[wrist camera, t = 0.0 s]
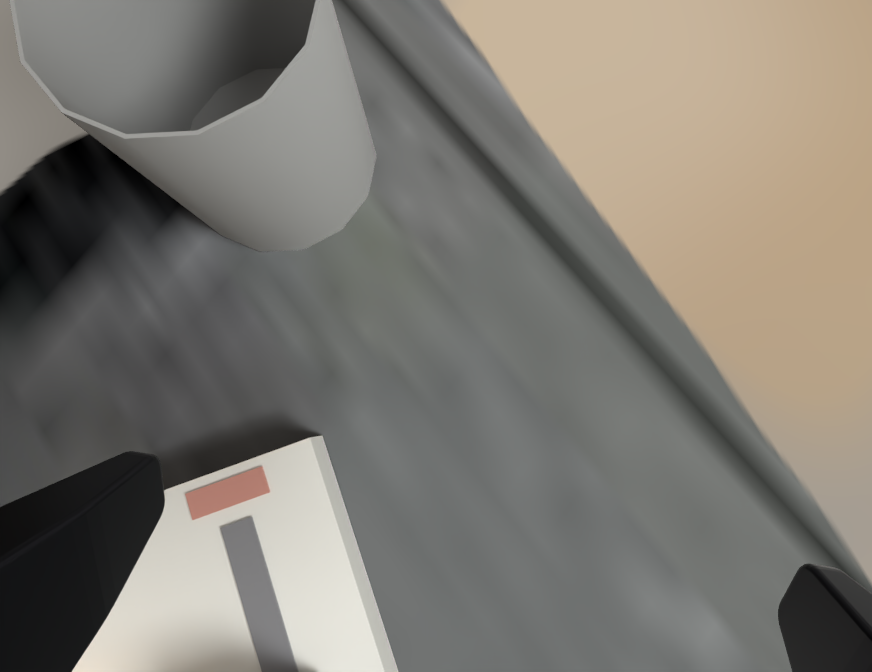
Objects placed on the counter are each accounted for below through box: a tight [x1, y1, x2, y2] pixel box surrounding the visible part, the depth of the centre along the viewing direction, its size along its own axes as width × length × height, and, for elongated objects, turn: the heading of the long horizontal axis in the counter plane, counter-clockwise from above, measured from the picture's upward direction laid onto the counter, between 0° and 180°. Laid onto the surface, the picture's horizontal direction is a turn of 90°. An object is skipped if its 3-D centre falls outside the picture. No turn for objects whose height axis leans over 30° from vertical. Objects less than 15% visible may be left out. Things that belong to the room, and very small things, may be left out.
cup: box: [9, 0, 376, 252], centre depth 20 cm, size 8×8×10 cm
